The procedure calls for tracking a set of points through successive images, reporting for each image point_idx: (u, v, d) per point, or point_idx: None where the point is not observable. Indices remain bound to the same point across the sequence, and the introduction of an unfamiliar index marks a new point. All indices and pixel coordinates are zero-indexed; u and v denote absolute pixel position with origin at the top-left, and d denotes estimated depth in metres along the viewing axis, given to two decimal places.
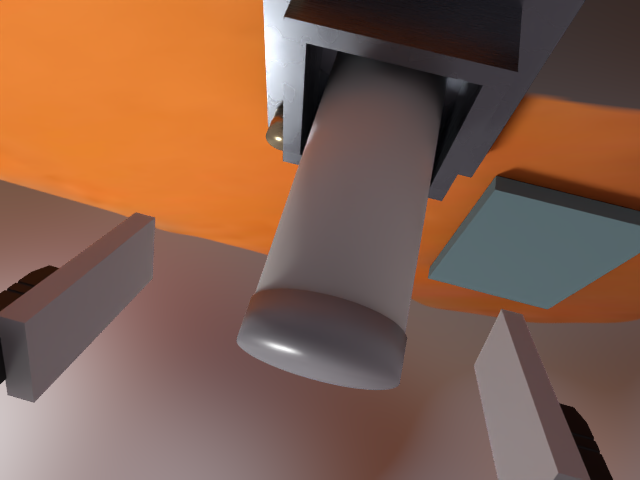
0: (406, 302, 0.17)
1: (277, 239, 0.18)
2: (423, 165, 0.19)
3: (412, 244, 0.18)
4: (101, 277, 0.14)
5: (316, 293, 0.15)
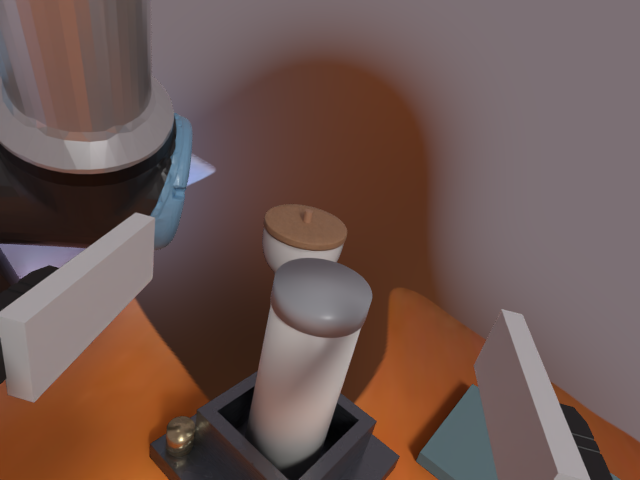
0: None
1: (268, 338, 0.29)
2: None
3: None
4: (101, 277, 0.14)
5: None
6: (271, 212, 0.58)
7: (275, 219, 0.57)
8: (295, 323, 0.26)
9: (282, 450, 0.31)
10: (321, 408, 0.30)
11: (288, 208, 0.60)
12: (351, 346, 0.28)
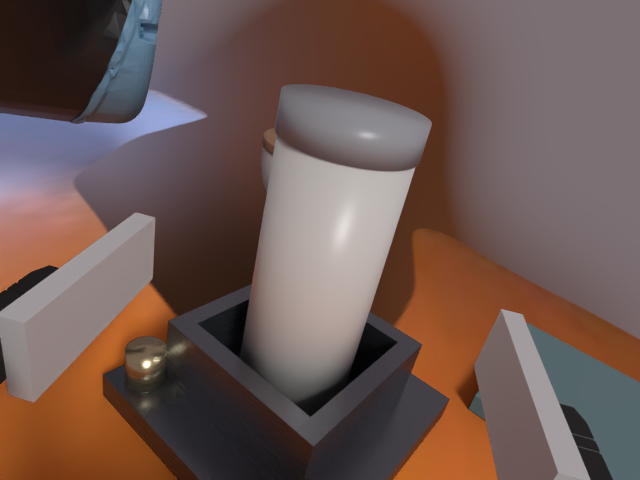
0: None
1: (272, 191, 0.19)
2: None
3: None
4: (101, 277, 0.14)
5: None
6: (271, 131, 0.48)
7: None
8: (315, 145, 0.16)
9: (292, 374, 0.21)
10: (351, 304, 0.20)
11: None
12: (399, 200, 0.18)
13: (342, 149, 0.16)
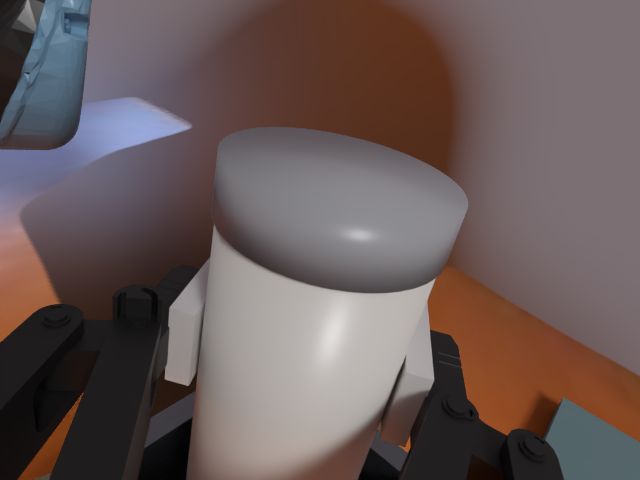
0: None
1: (209, 303, 0.12)
2: None
3: None
4: None
5: None
6: None
7: None
8: (269, 251, 0.09)
9: None
10: (337, 471, 0.13)
11: None
12: (414, 322, 0.11)
13: (315, 262, 0.09)
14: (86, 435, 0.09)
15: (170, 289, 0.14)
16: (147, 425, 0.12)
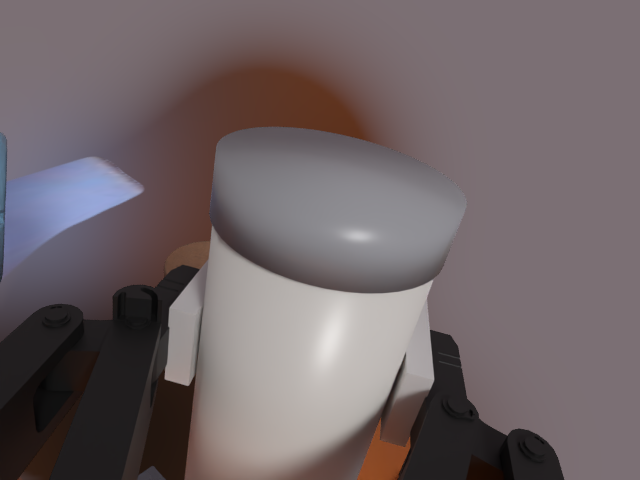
0: None
1: (207, 303, 0.12)
2: None
3: None
4: None
5: None
6: (175, 254, 0.47)
7: (177, 264, 0.46)
8: (267, 252, 0.09)
9: None
10: (335, 471, 0.13)
11: (199, 247, 0.50)
12: (412, 322, 0.11)
13: (313, 262, 0.09)
14: (86, 435, 0.09)
15: (170, 289, 0.14)
16: (147, 425, 0.12)
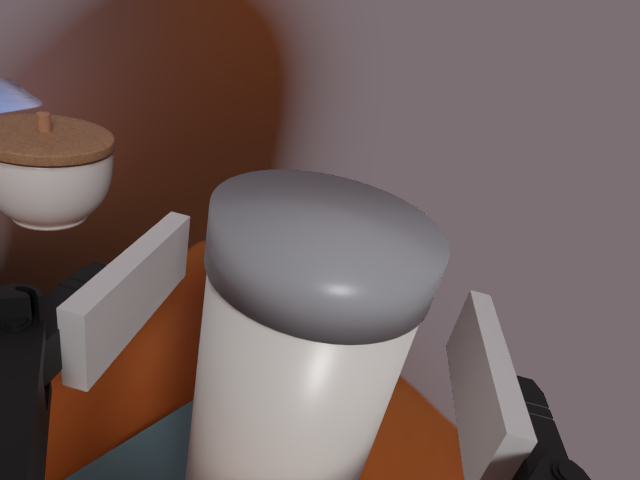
0: None
1: (202, 345, 0.12)
2: None
3: None
4: (145, 273, 0.15)
5: None
6: None
7: None
8: (257, 306, 0.10)
9: None
10: None
11: (31, 116, 0.40)
12: (399, 364, 0.12)
13: (301, 318, 0.10)
14: None
15: (73, 288, 0.13)
16: (46, 428, 0.11)
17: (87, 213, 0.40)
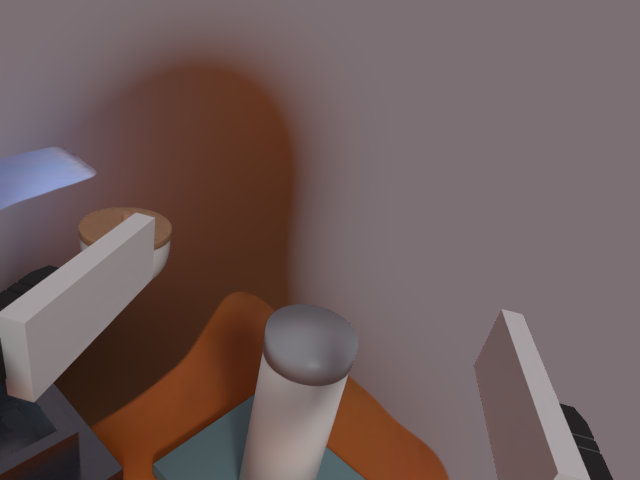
0: None
1: (261, 383, 0.30)
2: None
3: None
4: (101, 277, 0.14)
5: None
6: (91, 215, 0.56)
7: (90, 222, 0.55)
8: (285, 372, 0.28)
9: None
10: (311, 449, 0.31)
11: (114, 211, 0.58)
12: (339, 391, 0.30)
13: (300, 377, 0.28)
14: None
15: (21, 293, 0.13)
16: None
17: (153, 277, 0.58)
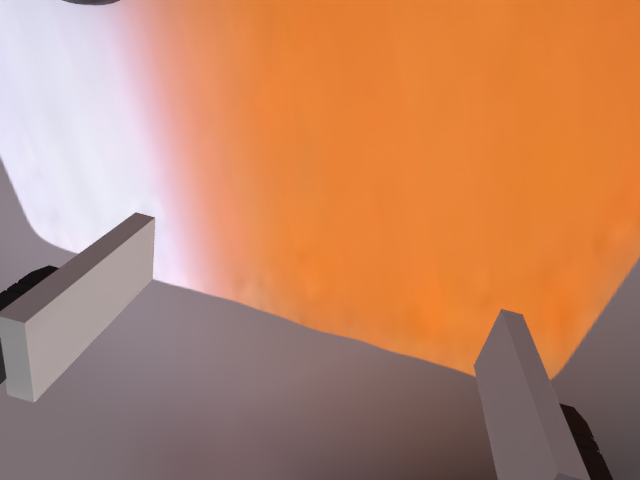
0: None
1: None
2: None
3: None
4: (101, 277, 0.14)
5: None
6: None
7: None
8: None
9: None
10: None
11: None
12: None
13: None
14: None
15: (21, 293, 0.13)
16: None
17: None
